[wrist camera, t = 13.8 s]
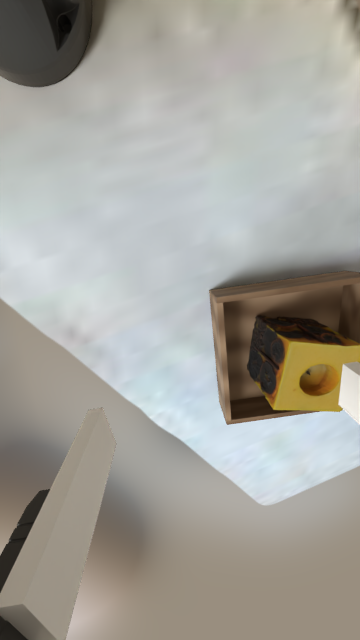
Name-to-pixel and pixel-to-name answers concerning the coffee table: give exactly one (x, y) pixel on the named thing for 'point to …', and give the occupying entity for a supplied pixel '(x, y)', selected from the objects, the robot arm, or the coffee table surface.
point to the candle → (299, 362)
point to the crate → (273, 301)
